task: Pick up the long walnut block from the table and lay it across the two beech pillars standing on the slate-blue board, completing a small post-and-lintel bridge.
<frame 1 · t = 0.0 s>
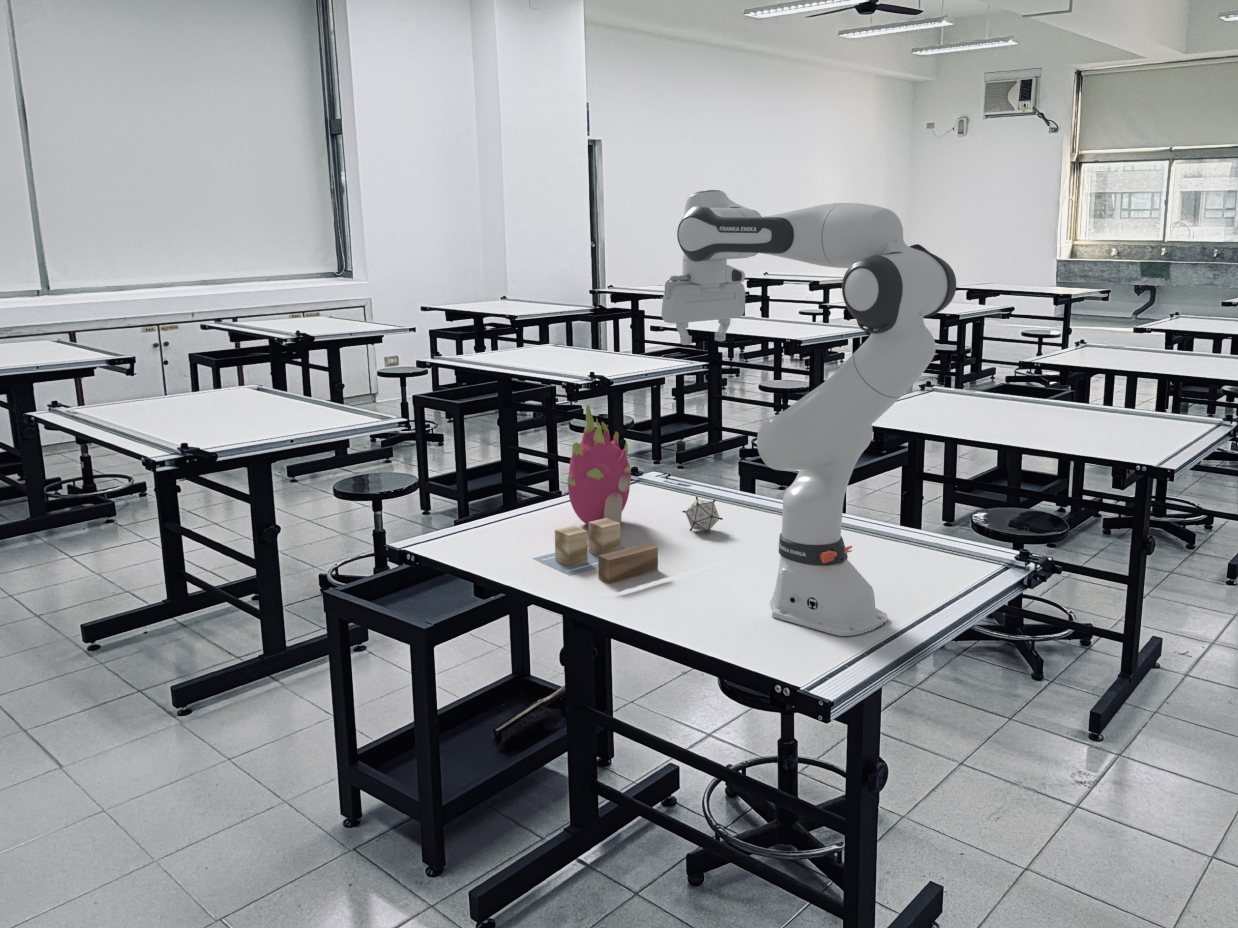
hand: (703, 342, 209), 48 cm above the table, tool pointing down, fingers open, 8 cm apart
pillar right: (604, 552, 226), point 1 cm above the table, touching blueprint board
pillar left: (571, 561, 221), point 1 cm above the table, touching blueprint board
game die: (702, 531, 244), on the table
blueprint board: (588, 560, 224), on the table
walnut lintel: (628, 578, 213), on the table
pink dragon fruit: (599, 527, 248), on the table
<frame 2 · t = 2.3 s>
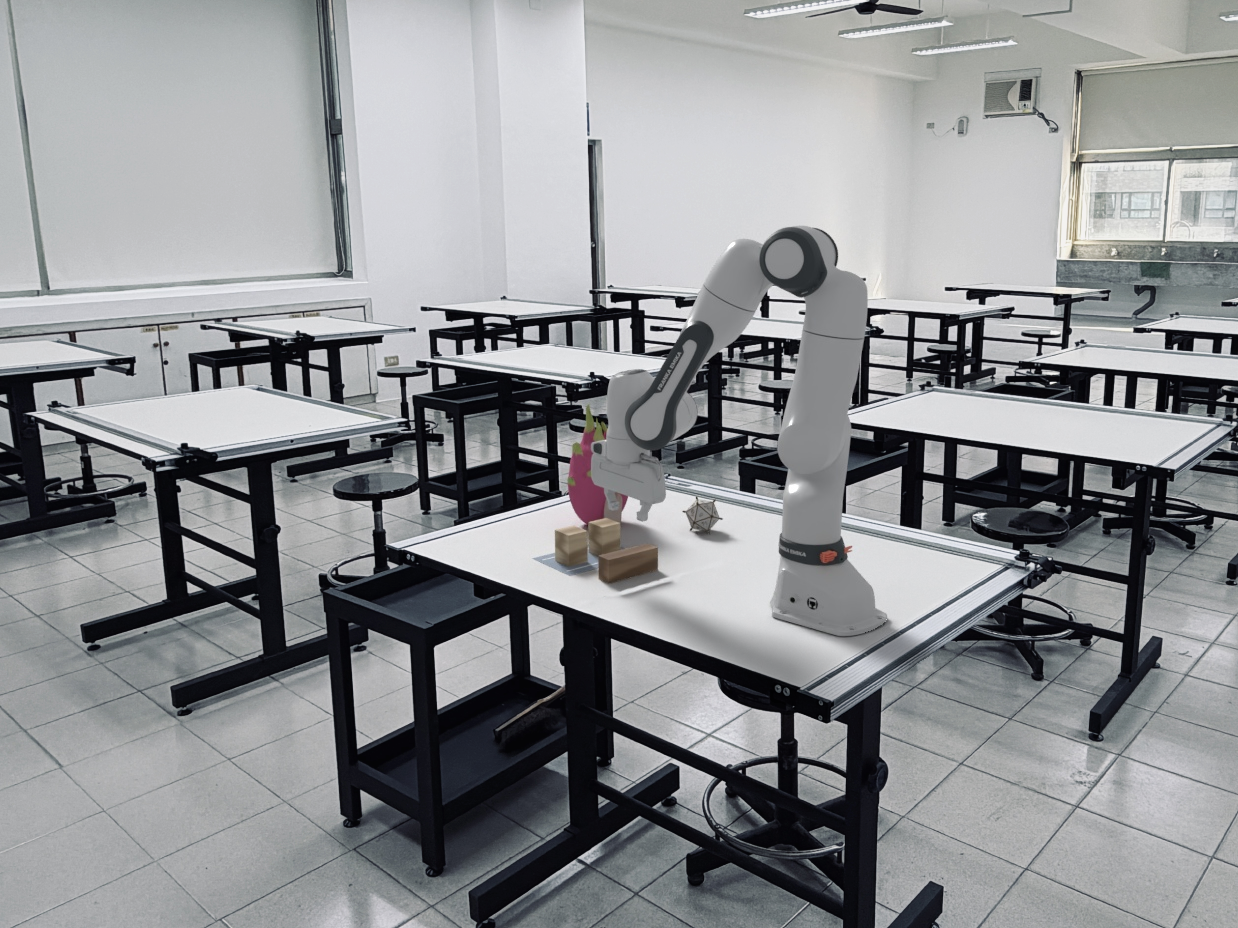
hand: (627, 514, 210), 14 cm above the table, tool pointing down, fingers open, 8 cm apart
nothing on the table moved.
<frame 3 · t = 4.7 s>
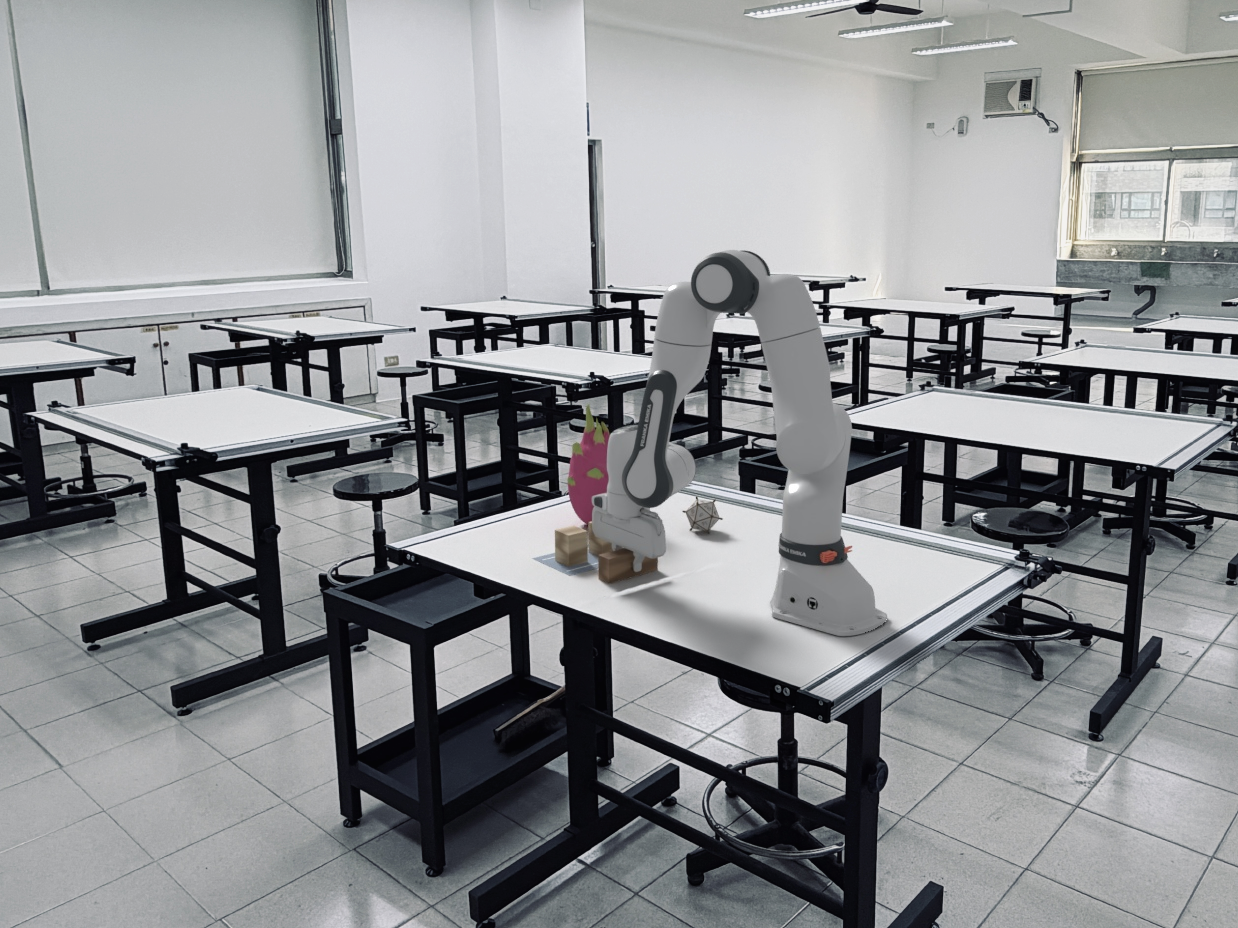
hand: (628, 567, 213), 2 cm above the table, tool pointing down, fingers closed on walnut lintel, 3 cm apart
walnut lintel: (628, 578, 213), on the table, touching gripper
everything else where it was.
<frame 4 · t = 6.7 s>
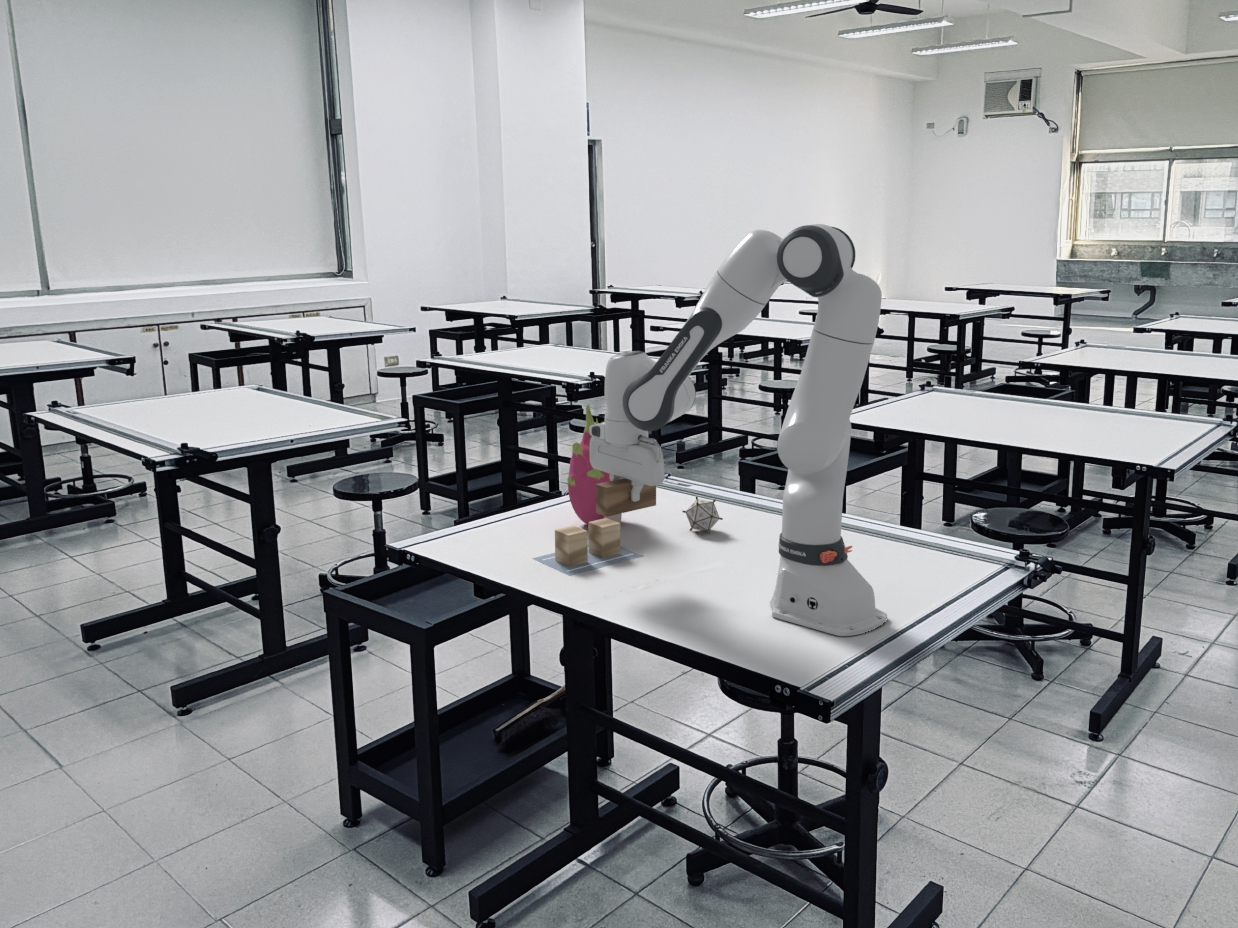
hand: (626, 497, 209), 17 cm above the table, tool pointing down, fingers closed on walnut lintel, 3 cm apart
walnut lintel: (626, 509, 210), point 15 cm above the table, touching gripper
everything else where it was.
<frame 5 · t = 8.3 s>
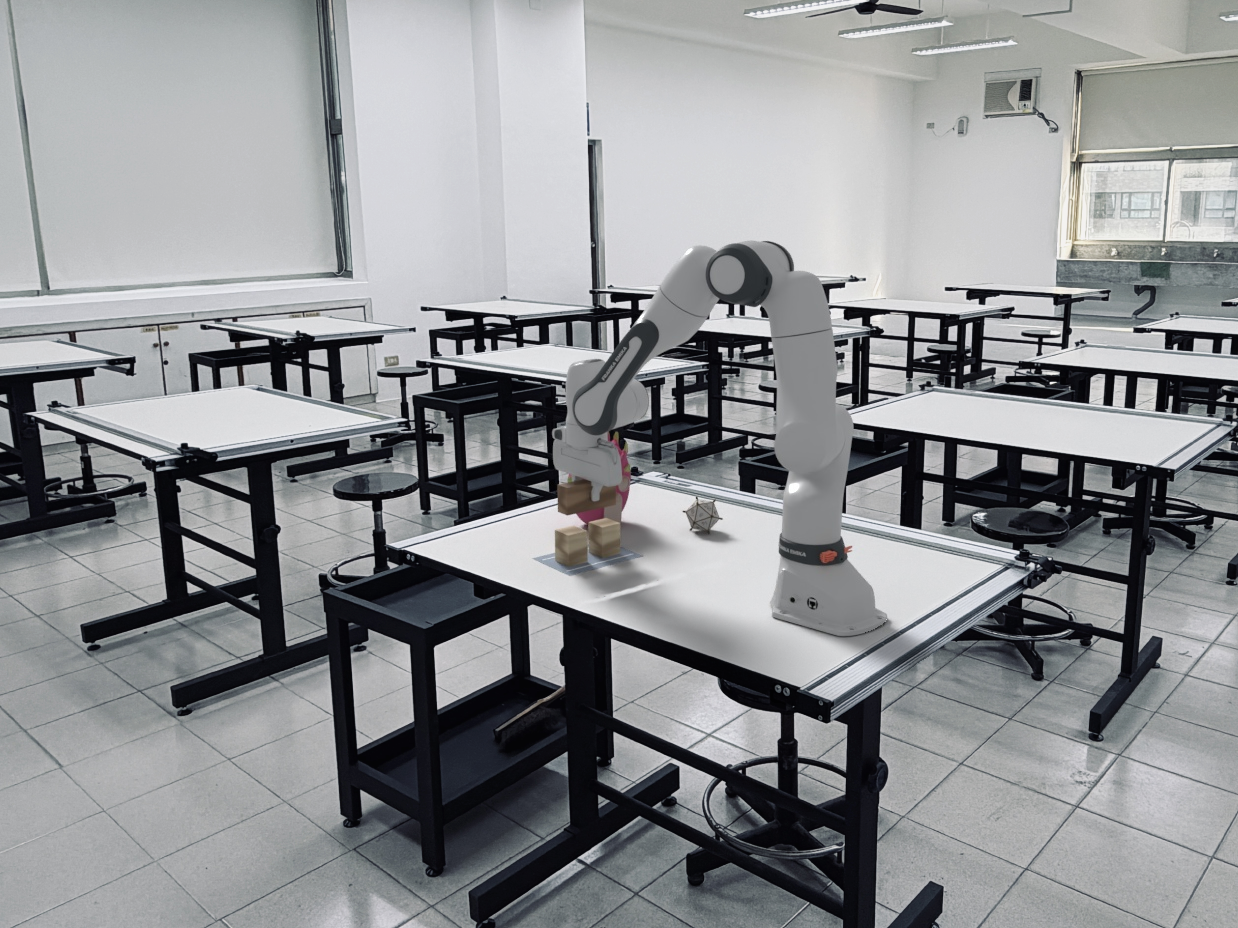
hand: (587, 497, 220), 14 cm above the table, tool pointing down, fingers closed on walnut lintel, 3 cm apart
walnut lintel: (587, 508, 221), point 12 cm above the table, touching gripper
everything else where it was.
when the fingers open (11 cm above the table, at t = 9.2 s): walnut lintel drops 1 cm, resting on pillar left, pillar right.
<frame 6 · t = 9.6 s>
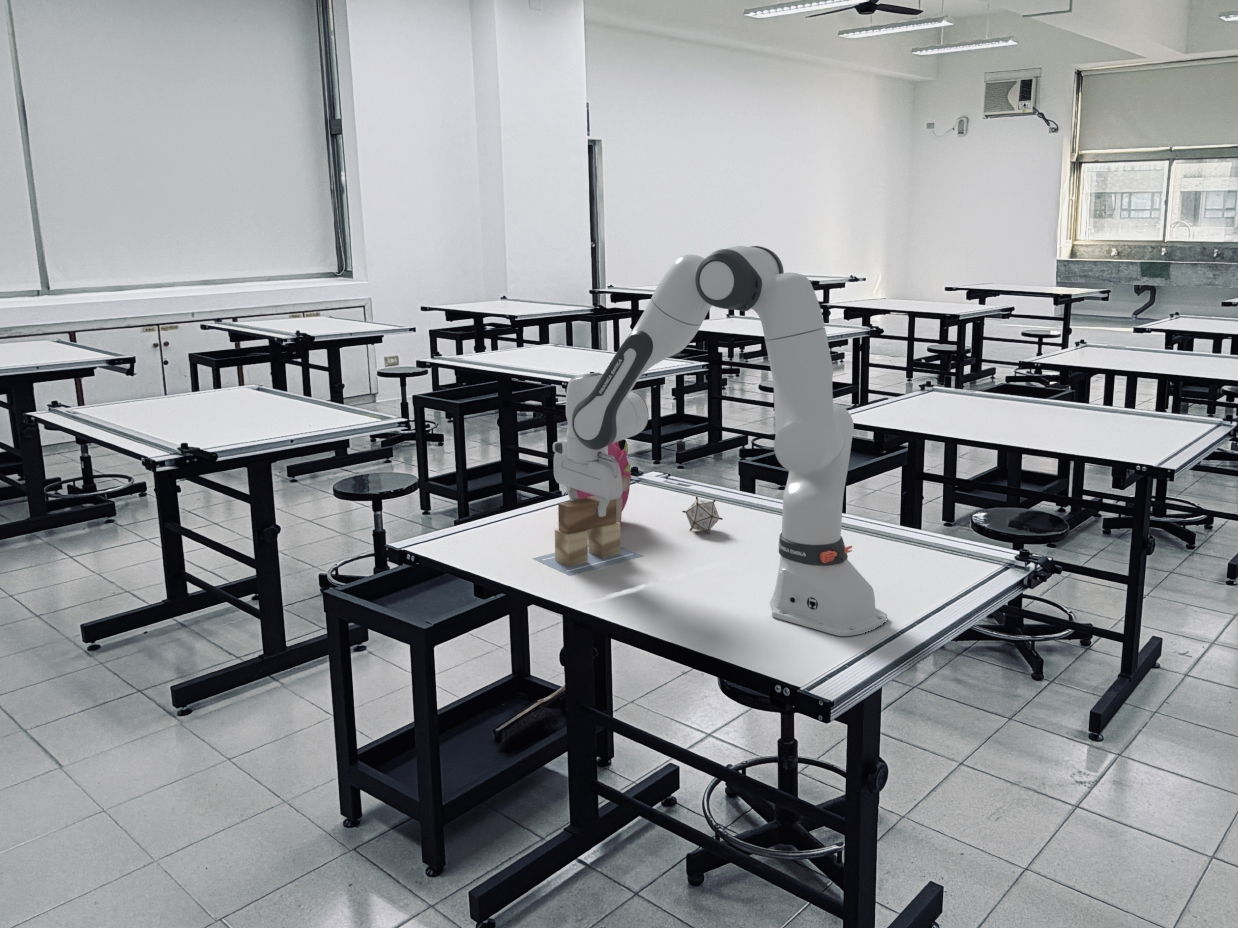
hand: (587, 511, 221), 11 cm above the table, tool pointing down, fingers open, 8 cm apart
pillar right: (604, 552, 226), point 1 cm above the table, touching blueprint board, walnut lintel
pillar left: (571, 561, 221), point 1 cm above the table, touching blueprint board, walnut lintel
walnut lintel: (587, 526, 222), point 8 cm above the table, touching pillar left, pillar right
everything else where it was.
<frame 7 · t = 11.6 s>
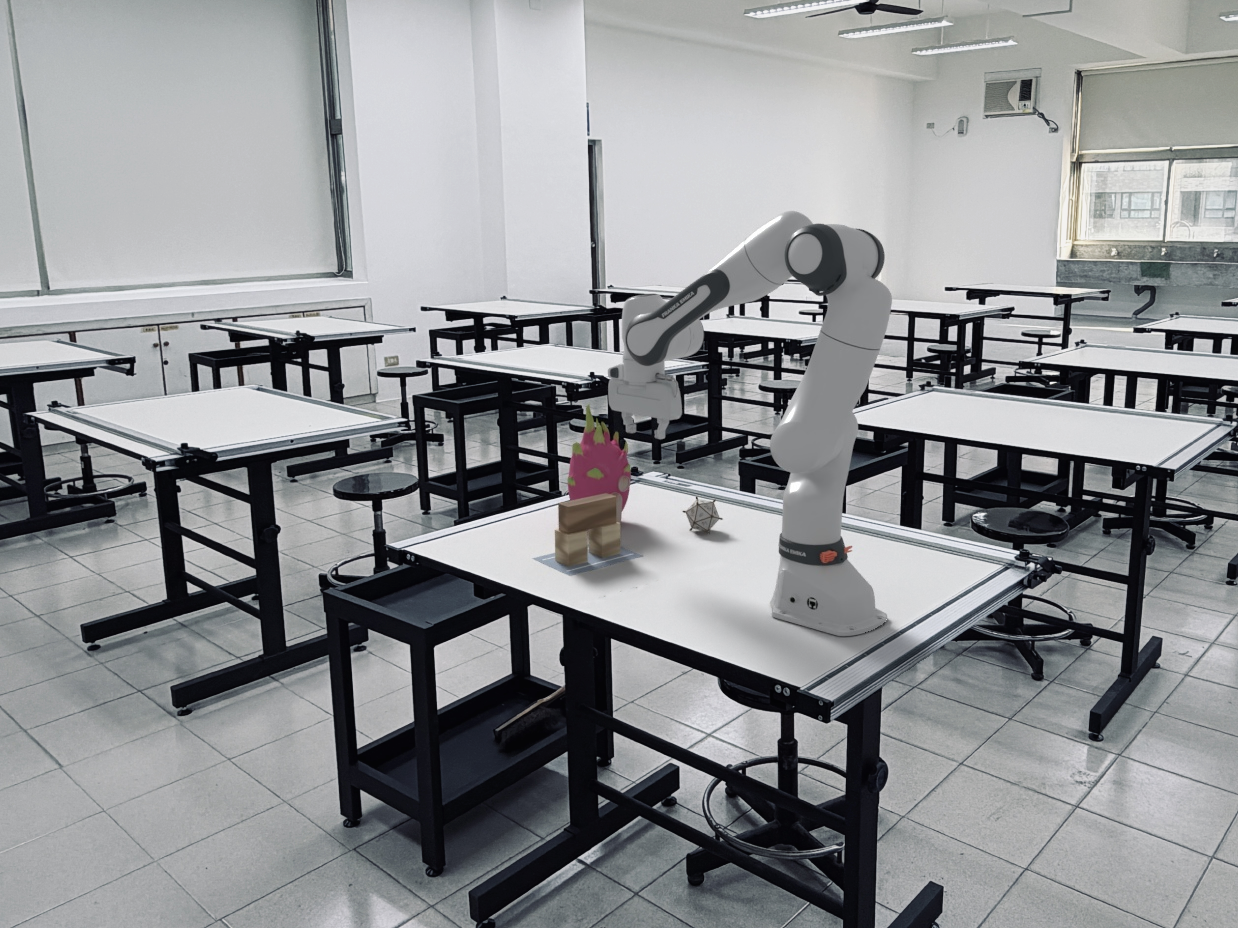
hand: (645, 435, 220), 27 cm above the table, tool pointing down, fingers open, 8 cm apart
nothing on the table moved.
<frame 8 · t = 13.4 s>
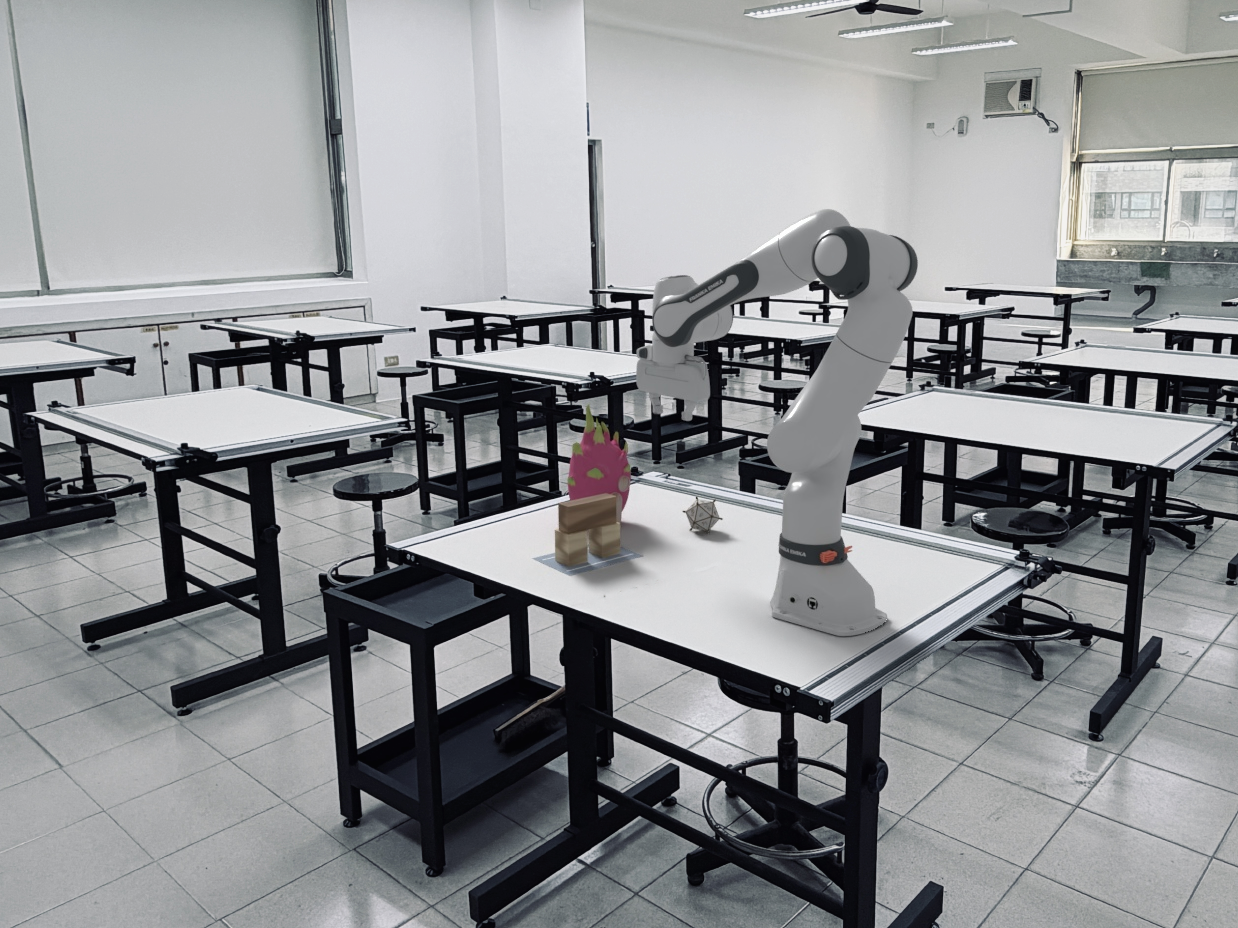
hand: (672, 416, 221), 31 cm above the table, tool pointing down, fingers open, 8 cm apart
nothing on the table moved.
at the end: walnut lintel 0.0 cm from the target spot, point 7.8 cm above the table; walnut lintel tilted 0°; the gripper is holding nothing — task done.
